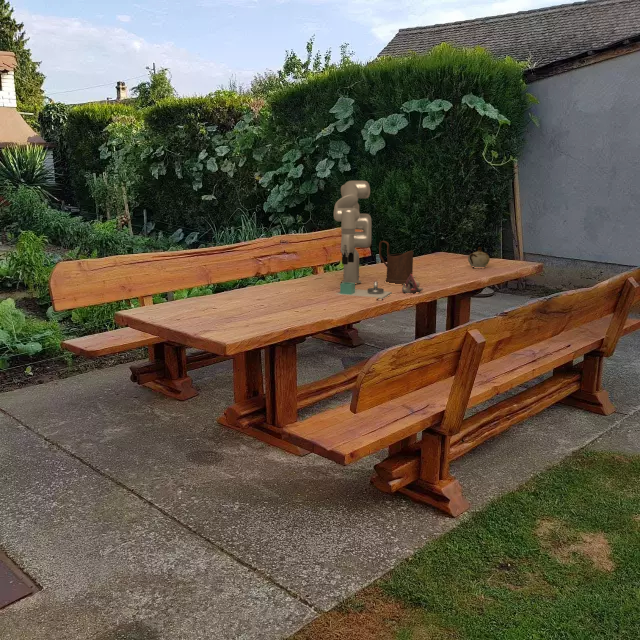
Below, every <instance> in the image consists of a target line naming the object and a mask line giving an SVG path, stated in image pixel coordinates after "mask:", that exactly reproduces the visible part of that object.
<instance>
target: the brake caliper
mask: <svg viewBox="0 0 640 640" xmlns="http://www.w3.org/2000/svg"><path fill="white" fill-rule="evenodd" d="M409 278H410V279H409ZM408 282H410V283H408ZM405 284H406V285H405ZM423 290H424V288H423V287H420V281H418V280H416V276H415V275H413V273H412V274H410V275H409V277H408V279H407V280H406V283H404V284H403V285H402V288H401V291H402V293H403V292H405V293H416V292H419V293H420V292H421V291H423ZM405 293H404V294H405Z"/></svg>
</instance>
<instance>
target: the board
mask: <svg viewBox="0 0 640 640" xmlns="http://www.w3.org/2000/svg"><path fill="white" fill-rule="evenodd" d="M367 290H368V289H356V288H355V293H353V294H351V295H350V294H340V291H339V292H337V293H335V295H339V296H340V295H341V296H354V297H355V296H356V297H366V298H367V297H368V298H377V299H383V298H385V297H387V296H388V295H390V294H392V293H393V292H392V291H387V290H386V291H385V290H384V293H383V294H369V293H367ZM390 296H391V295H390ZM388 297H389V296H388ZM388 297H387V298H388ZM385 299H386V298H385ZM383 300H384V299H383Z"/></svg>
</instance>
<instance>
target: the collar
mask: <svg viewBox="0 0 640 640" xmlns="http://www.w3.org/2000/svg"><path fill="white" fill-rule="evenodd" d="M355 289H356V285H355V283H349V282H343V283H341V282H340V286H339V290H340V291H339V292H340V294H350V295H349V296H351V294H353V293H355Z"/></svg>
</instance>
